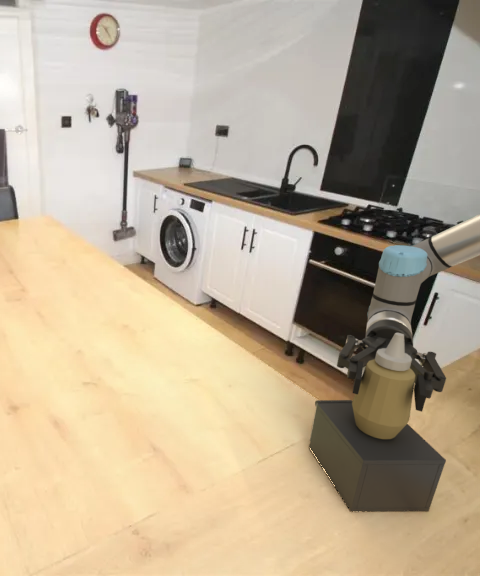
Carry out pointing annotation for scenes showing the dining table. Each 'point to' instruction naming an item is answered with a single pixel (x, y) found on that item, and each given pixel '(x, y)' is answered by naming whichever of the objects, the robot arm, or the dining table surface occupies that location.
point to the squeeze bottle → (385, 392)
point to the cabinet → (374, 463)
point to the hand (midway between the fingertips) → (387, 394)
